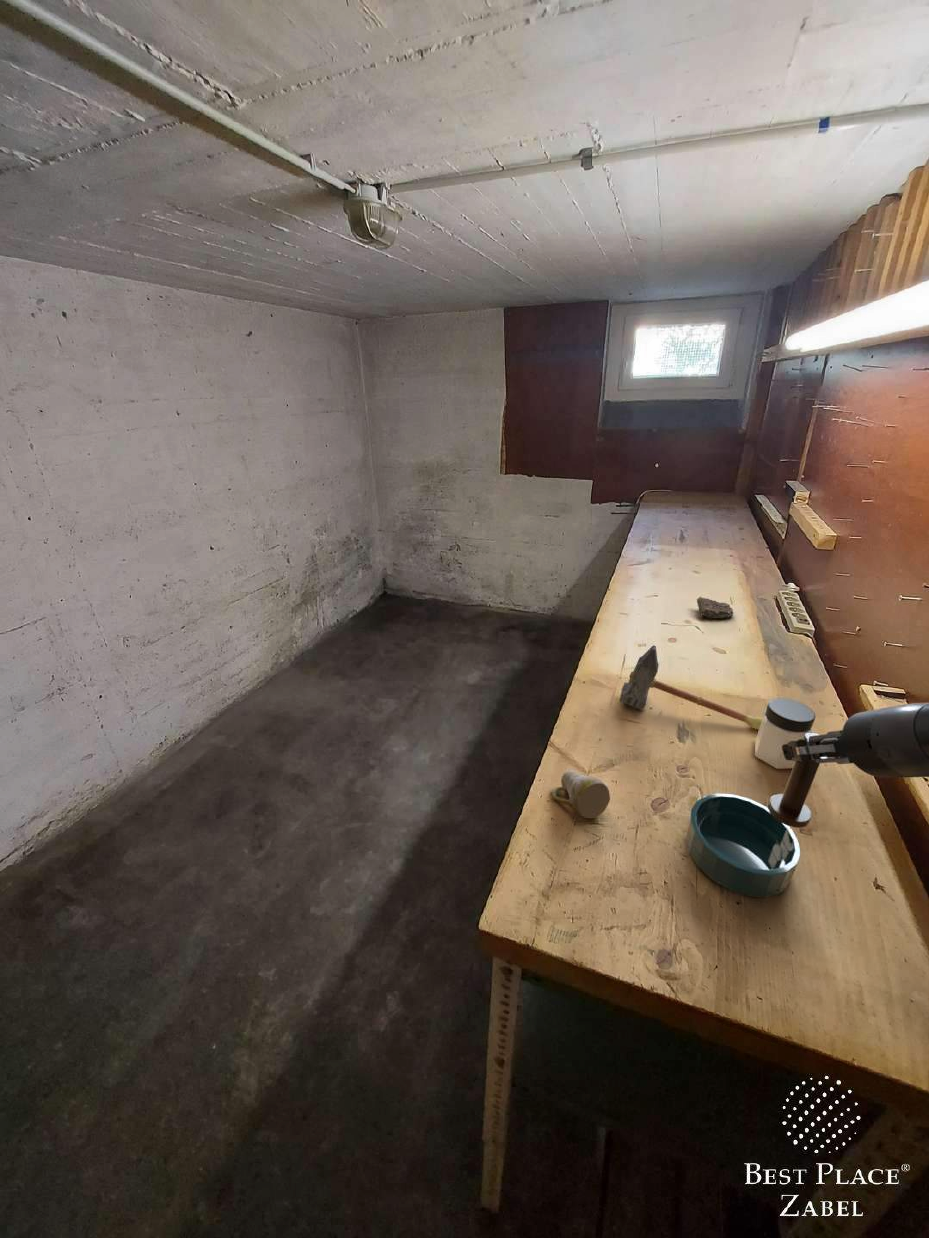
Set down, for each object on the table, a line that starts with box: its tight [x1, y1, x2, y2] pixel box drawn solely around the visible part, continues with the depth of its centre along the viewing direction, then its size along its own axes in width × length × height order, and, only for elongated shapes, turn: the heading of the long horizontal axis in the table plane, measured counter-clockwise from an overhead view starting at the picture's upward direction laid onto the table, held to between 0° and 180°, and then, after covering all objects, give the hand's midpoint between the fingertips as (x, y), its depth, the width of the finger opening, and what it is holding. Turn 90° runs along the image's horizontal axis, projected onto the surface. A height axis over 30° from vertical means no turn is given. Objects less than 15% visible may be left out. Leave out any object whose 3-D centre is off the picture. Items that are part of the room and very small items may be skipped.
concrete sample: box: [696, 596, 734, 619], centre depth 161 cm, size 12×10×5 cm
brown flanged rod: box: [767, 732, 821, 829], centre depth 68 cm, size 5×5×14 cm
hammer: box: [619, 644, 763, 731], centre depth 112 cm, size 6×16×30 cm
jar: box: [754, 697, 816, 770], centre depth 99 cm, size 9×8×12 cm
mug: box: [552, 769, 611, 819], centre depth 90 cm, size 8×10×10 cm
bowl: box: [684, 792, 802, 898], centre depth 79 cm, size 16×16×6 cm
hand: (796, 751), depth 69 cm, fingers closed on brown flanged rod, 2 cm apart
